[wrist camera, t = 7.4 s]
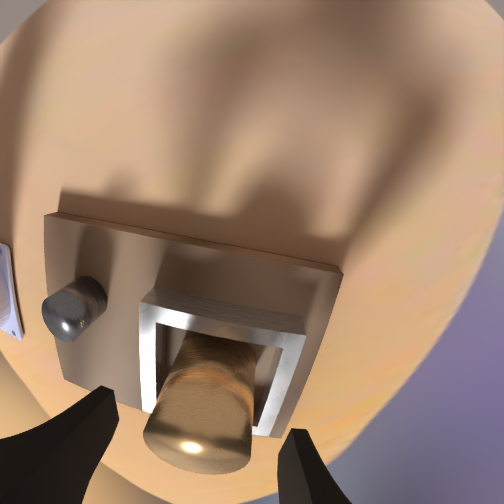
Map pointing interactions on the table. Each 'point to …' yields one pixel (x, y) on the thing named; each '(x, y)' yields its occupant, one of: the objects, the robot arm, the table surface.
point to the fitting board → (180, 310)
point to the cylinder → (205, 407)
